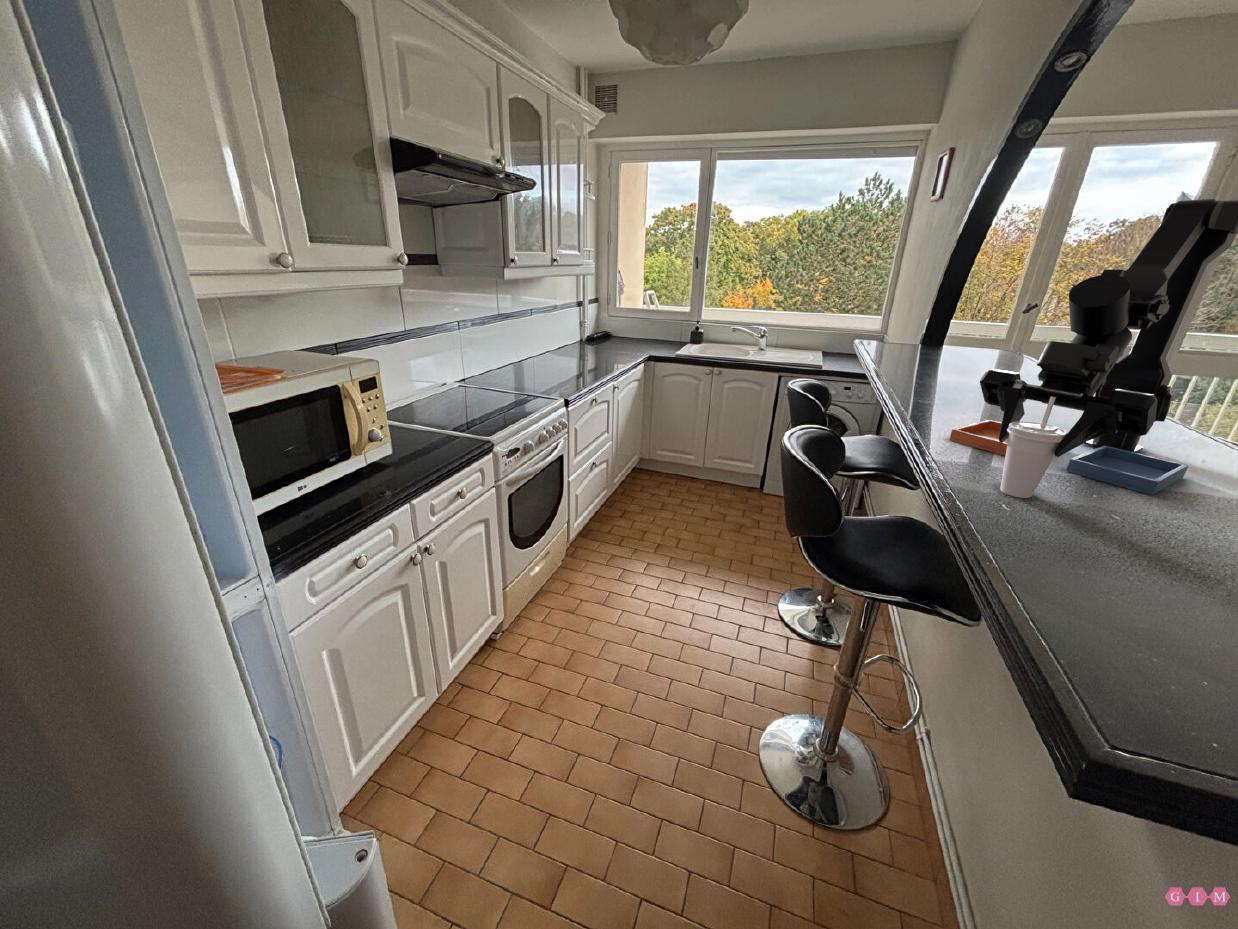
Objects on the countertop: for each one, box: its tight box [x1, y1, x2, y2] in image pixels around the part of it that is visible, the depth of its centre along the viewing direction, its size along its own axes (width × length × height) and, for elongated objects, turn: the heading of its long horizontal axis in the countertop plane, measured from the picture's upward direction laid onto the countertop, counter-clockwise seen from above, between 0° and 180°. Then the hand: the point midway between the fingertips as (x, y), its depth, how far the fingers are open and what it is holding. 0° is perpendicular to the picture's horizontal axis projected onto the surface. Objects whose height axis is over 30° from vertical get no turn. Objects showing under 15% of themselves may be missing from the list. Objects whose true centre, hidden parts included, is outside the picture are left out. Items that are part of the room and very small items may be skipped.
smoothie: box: [999, 397, 1068, 499], centre depth 70 cm, size 6×6×14 cm
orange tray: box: [948, 419, 1009, 457], centre depth 91 cm, size 13×12×2 cm
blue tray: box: [1065, 446, 1190, 496], centre depth 79 cm, size 13×10×2 cm
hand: (1027, 447), depth 69 cm, fingers closed on smoothie, 6 cm apart
